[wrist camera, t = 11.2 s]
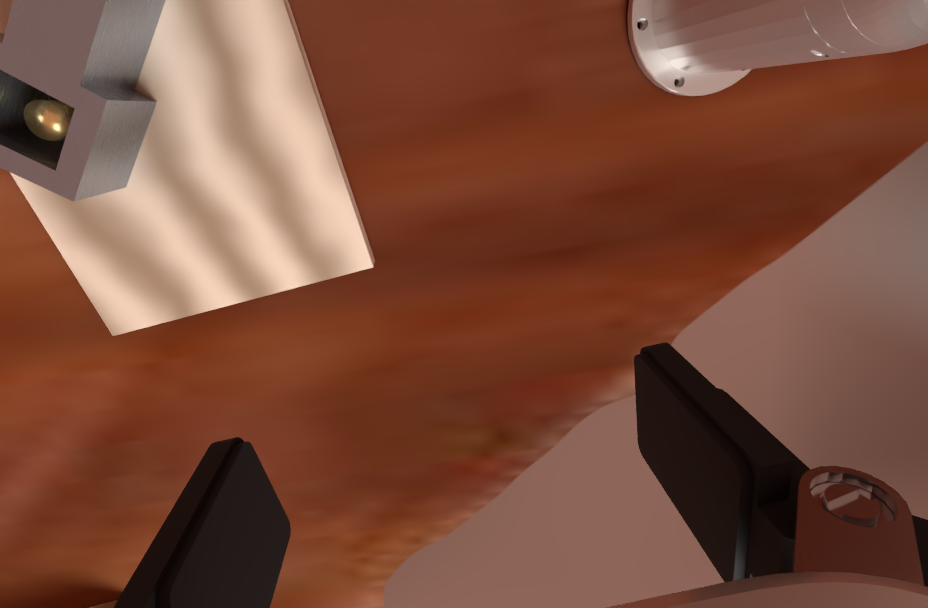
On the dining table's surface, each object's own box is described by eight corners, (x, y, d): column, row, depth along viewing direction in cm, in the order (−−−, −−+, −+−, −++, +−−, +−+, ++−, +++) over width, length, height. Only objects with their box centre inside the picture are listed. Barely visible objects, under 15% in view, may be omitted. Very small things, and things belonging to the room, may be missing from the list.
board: (215, -217, 28) (202, -240, 27) (374, 260, 41) (373, 267, 40) (-150, -126, 28) (-188, -142, 26) (125, 326, 41) (112, 336, 39)
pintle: (111, 97, 34) (52, 95, 29) (128, 131, 35) (74, 135, 30) (80, 106, 34) (15, 105, 29) (97, 139, 35) (38, 145, 30)
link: (110, -179, 27) (35, -252, 22) (228, -96, 29) (186, -143, 24) (22, 136, 33) (-56, 141, 27) (126, 187, 35) (73, 201, 29)
